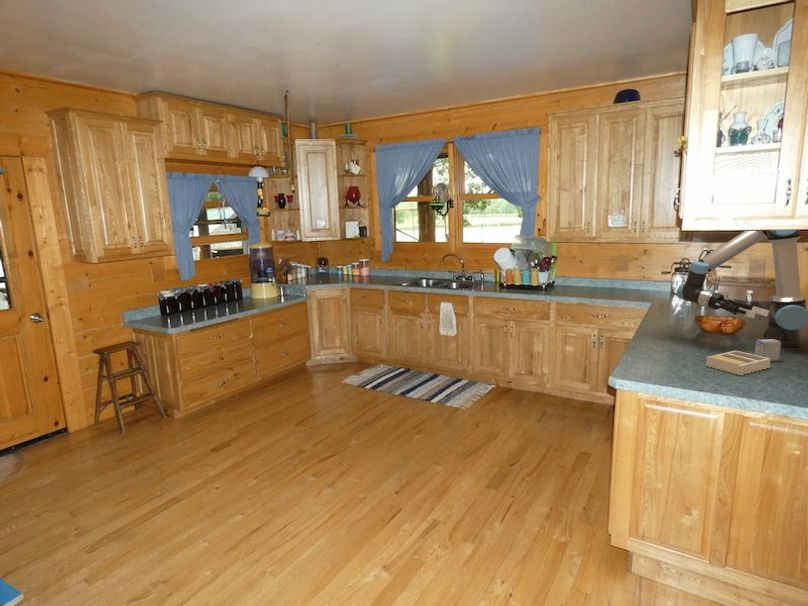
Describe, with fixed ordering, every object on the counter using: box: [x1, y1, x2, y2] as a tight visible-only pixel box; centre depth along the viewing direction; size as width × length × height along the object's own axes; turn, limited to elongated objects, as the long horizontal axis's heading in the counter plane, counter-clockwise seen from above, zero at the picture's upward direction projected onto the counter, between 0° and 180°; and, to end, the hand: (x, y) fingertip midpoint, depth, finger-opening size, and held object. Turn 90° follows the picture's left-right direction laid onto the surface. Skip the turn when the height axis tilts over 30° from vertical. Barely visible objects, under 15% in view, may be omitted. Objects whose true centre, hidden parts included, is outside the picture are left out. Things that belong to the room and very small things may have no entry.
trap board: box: [705, 350, 771, 376], centre depth 204 cm, size 19×14×4 cm
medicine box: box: [754, 339, 782, 362], centre depth 211 cm, size 8×4×9 cm, turn 92°
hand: (761, 314), depth 214 cm, fingers open, 13 cm apart
